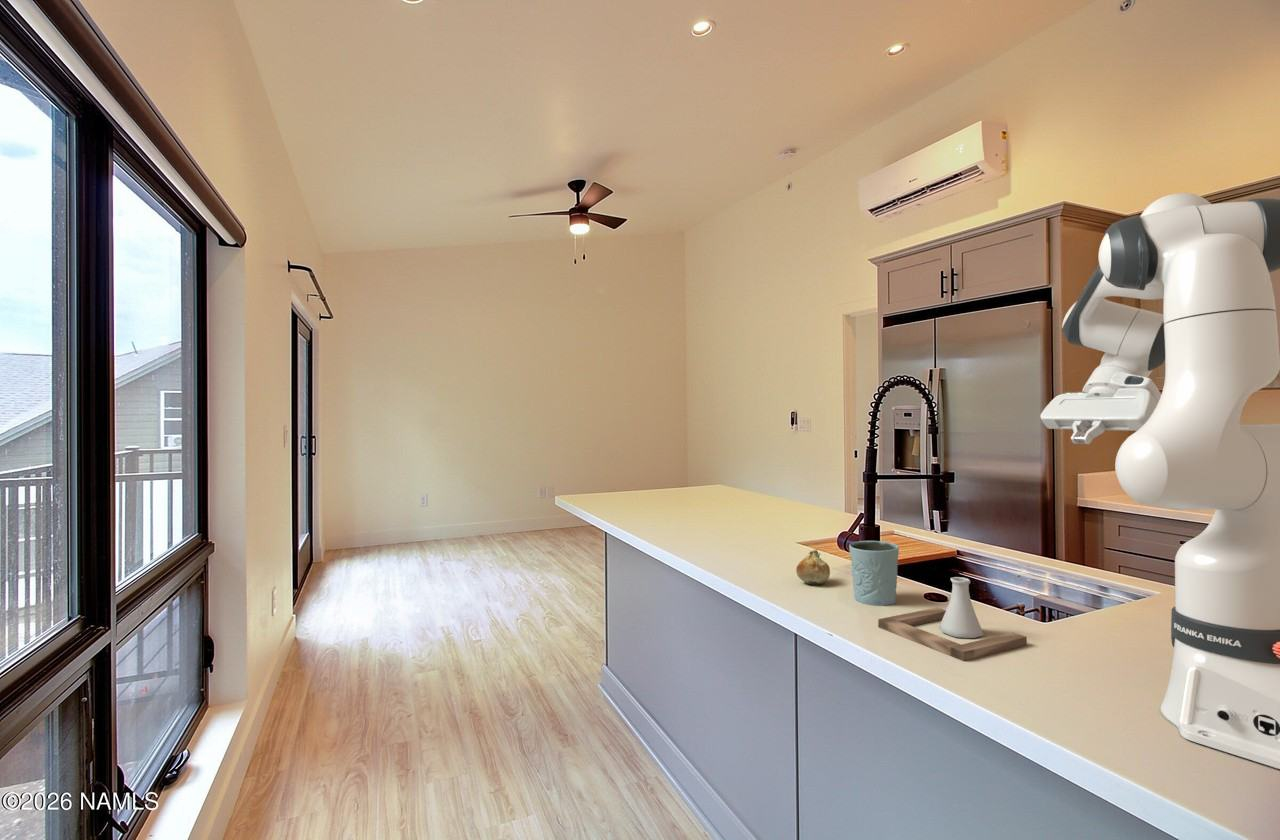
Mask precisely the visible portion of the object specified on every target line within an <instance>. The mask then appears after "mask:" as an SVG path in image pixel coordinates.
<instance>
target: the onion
mask: <svg viewBox="0 0 1280 840" xmlns="http://www.w3.org/2000/svg"><path fill="white" fill-rule="evenodd" d="M807 554H808V555H807V556H805V557H804V558H803V559H802V560H800V562H799V563H798V564H797V566H796V568H795V569H796V570H795V571H796V572H795V573H796V575H797V576H798V578H799V579H800V580H801V581H803V582H804V583H806V584H808V585H814V586H816V585H821V584H823V583H825V582H826V581H828V580H829V578H830V576H831V575H830V574H831V569H830V566H829V564H828V563H827V562H826V561H824V560H823V559H822V558H820V556H821V553H820V552H819V551H818V549H815V550H814V549H813V550H810V552H808V553H807Z"/></svg>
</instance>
